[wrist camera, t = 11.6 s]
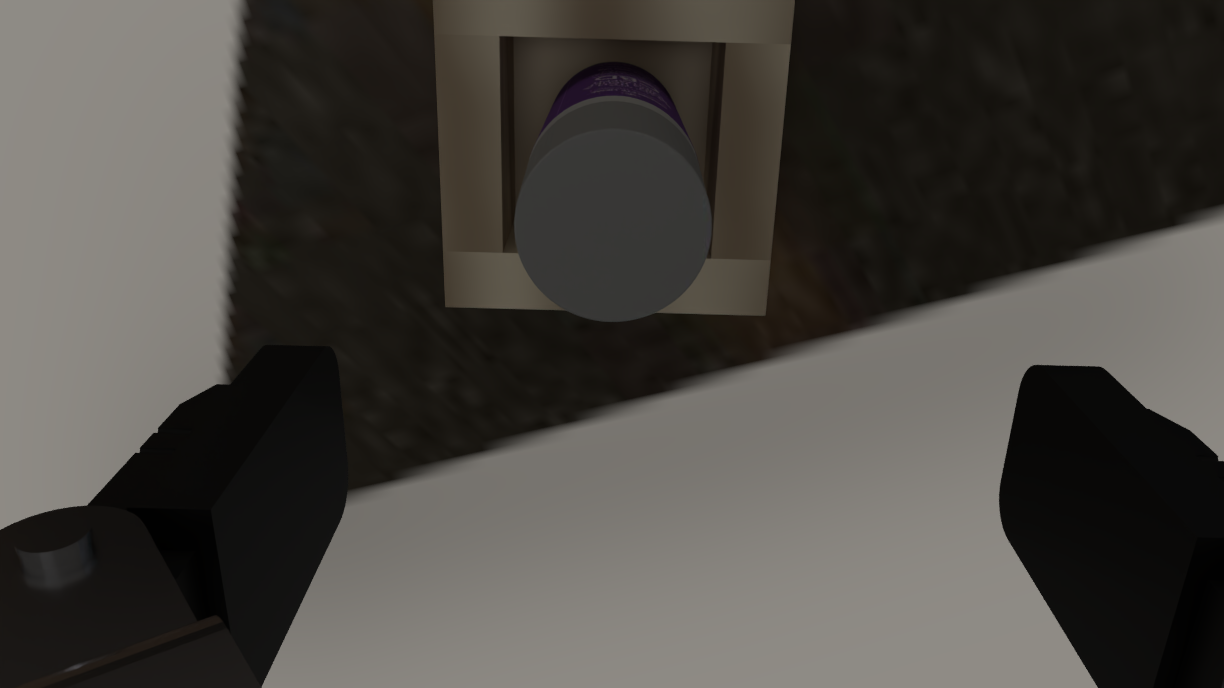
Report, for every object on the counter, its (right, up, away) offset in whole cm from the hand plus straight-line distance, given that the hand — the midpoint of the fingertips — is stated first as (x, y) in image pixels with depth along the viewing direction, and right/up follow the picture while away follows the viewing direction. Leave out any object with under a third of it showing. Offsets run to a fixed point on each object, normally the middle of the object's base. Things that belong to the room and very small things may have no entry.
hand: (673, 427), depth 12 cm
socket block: (-1, +9, +25) cm, 27 cm away
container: (-1, +9, +25) cm, 26 cm away
